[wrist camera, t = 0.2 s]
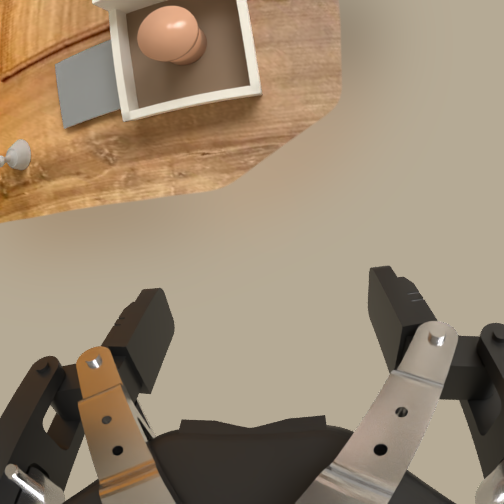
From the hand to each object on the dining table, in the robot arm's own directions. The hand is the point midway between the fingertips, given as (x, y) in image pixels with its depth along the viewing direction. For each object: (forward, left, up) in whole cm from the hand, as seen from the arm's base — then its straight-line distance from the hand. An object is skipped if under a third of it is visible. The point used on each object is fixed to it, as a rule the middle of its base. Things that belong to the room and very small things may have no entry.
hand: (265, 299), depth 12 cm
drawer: (-17, -8, -28) cm, 34 cm away
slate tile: (-16, -22, -28) cm, 39 cm away
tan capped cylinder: (-17, -8, -27) cm, 33 cm away
